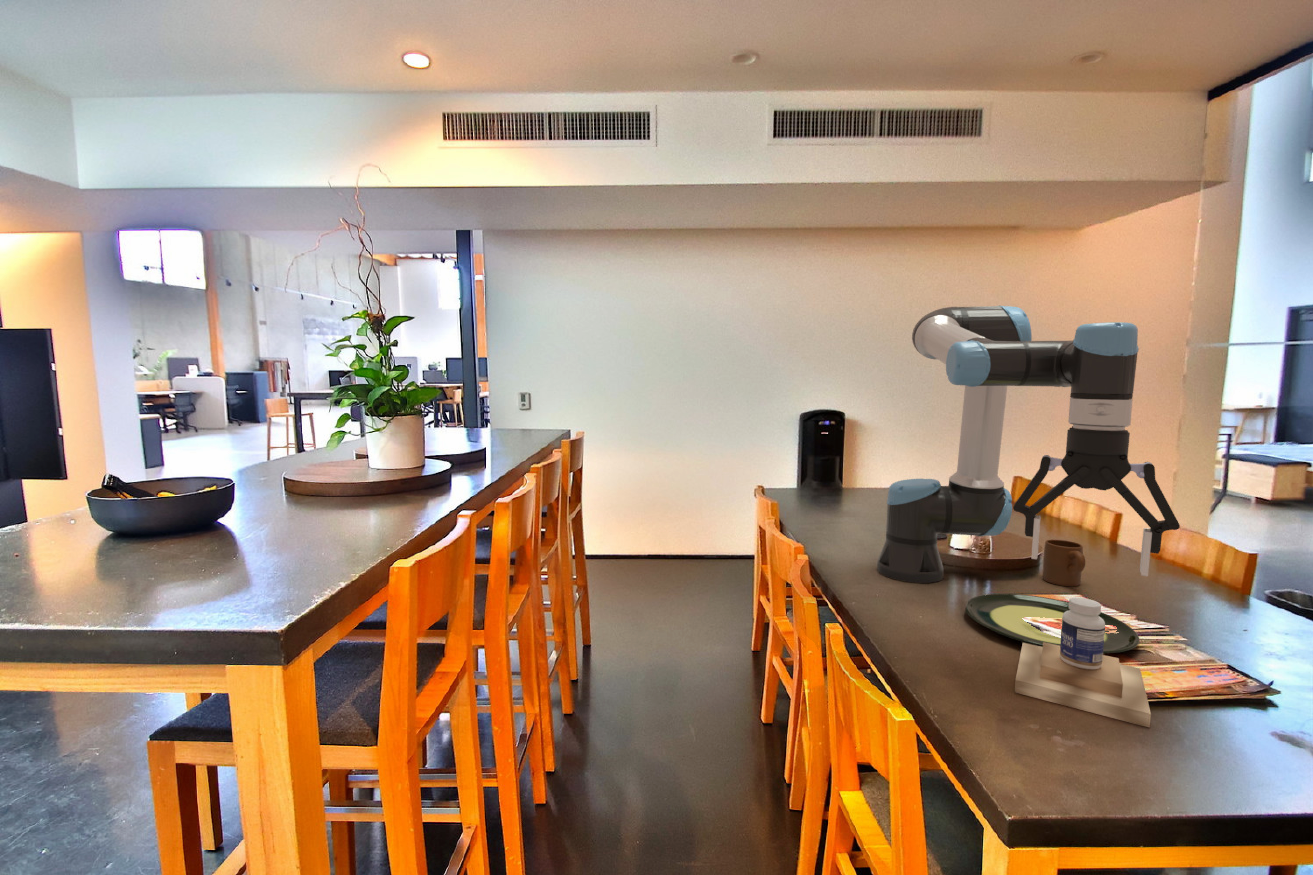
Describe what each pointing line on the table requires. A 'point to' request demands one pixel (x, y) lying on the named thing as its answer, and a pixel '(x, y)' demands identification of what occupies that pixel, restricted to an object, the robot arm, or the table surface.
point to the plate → (1011, 608)
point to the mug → (1063, 562)
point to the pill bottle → (1082, 634)
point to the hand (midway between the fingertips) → (1086, 565)
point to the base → (1083, 696)
